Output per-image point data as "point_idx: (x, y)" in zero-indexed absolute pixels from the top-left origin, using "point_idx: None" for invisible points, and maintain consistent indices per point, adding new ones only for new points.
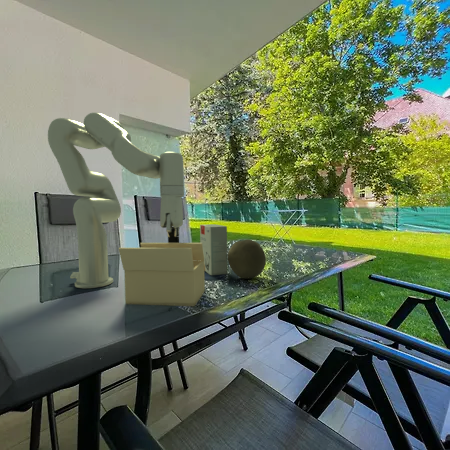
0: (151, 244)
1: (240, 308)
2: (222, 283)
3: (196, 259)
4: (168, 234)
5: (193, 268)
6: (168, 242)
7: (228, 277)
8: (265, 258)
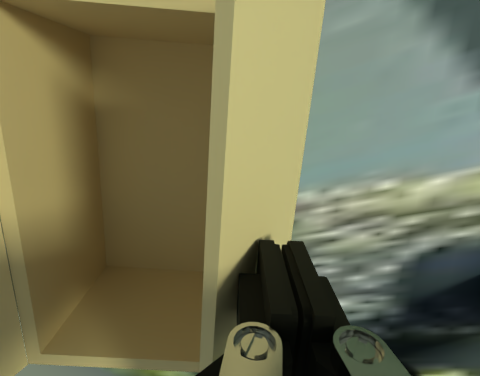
0: (220, 87)
1: (106, 370)
2: (348, 321)
3: None
4: (224, 364)
5: (12, 372)
6: (263, 274)
7: (432, 335)
8: None
